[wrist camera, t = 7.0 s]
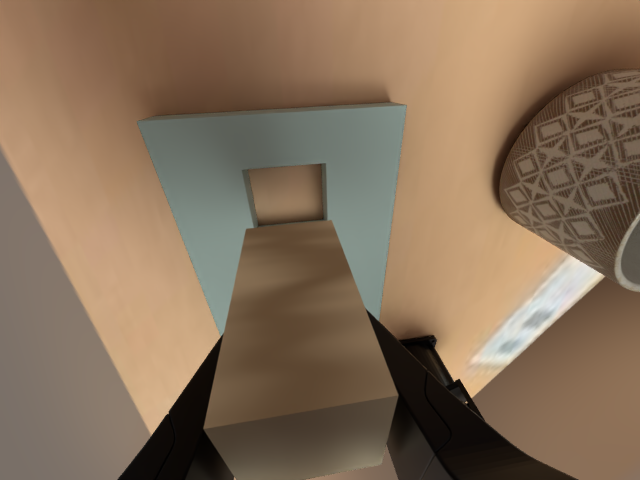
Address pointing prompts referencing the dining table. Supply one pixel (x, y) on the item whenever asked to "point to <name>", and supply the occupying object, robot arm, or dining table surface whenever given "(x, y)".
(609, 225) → the planter
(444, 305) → the dining table surface
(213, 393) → the maple block
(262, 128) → the pocket board
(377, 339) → the robot arm
